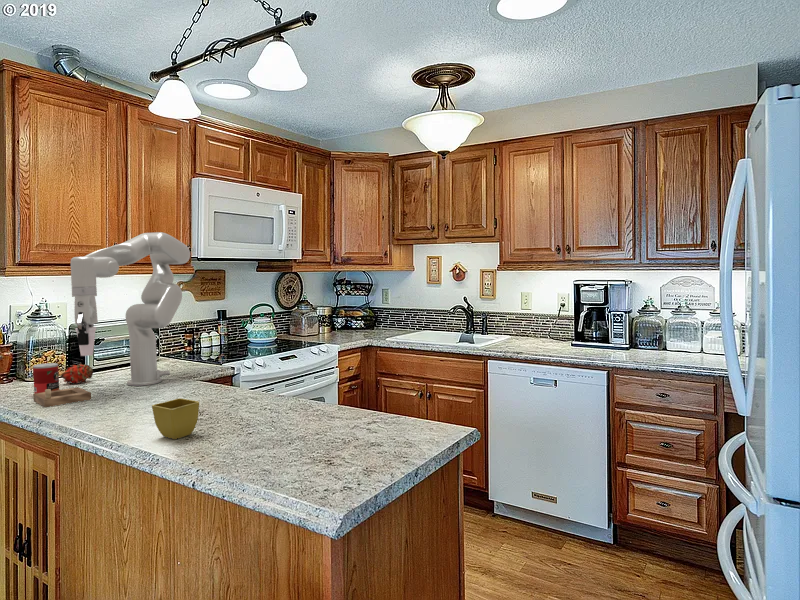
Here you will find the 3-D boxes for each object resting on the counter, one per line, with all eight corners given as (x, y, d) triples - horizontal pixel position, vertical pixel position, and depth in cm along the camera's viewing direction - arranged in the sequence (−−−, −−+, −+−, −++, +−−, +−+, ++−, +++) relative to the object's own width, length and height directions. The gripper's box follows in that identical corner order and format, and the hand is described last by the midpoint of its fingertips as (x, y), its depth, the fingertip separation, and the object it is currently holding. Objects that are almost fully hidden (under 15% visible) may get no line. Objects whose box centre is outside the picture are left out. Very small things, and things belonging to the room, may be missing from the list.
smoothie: (99, 355, 190) (97, 315, 189) (78, 356, 186) (76, 316, 185) (95, 353, 195) (93, 314, 194) (74, 355, 191) (73, 315, 190)
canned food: (50, 396, 195) (49, 366, 195) (29, 397, 195) (27, 366, 195) (64, 392, 203) (63, 362, 202) (43, 392, 203) (41, 363, 203)
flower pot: (172, 443, 140) (171, 408, 140) (152, 438, 145) (150, 404, 144) (201, 434, 147) (200, 401, 147) (181, 429, 152) (179, 397, 152)
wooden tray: (78, 393, 200) (77, 378, 199) (91, 399, 190) (90, 384, 190) (33, 400, 189) (32, 385, 189) (44, 407, 180) (43, 391, 179)
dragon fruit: (97, 384, 223) (63, 393, 215) (90, 370, 227) (58, 379, 220) (96, 370, 218) (62, 378, 211) (90, 356, 223) (56, 364, 215)
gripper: (89, 292, 182) (91, 346, 183) (102, 291, 199) (104, 340, 199) (64, 293, 180) (66, 347, 181) (79, 291, 197) (81, 341, 197)
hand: (86, 343), depth 190 cm, fingers closed on smoothie, 6 cm apart
